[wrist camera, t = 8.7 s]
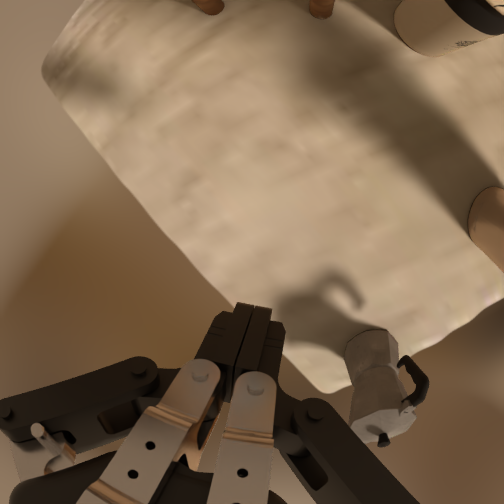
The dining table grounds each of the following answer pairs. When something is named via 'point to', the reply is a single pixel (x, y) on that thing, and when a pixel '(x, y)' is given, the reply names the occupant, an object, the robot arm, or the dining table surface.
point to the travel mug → (447, 23)
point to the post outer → (210, 6)
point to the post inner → (321, 8)
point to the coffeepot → (381, 387)
